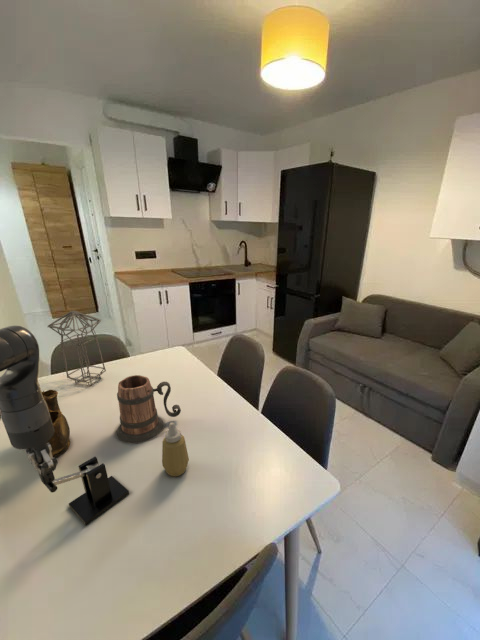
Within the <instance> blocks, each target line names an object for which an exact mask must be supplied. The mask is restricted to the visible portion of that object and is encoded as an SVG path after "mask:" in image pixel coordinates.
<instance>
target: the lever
mask: <svg viewBox="0 0 480 640" xmlns="http://www.w3.org/2000/svg"><path fill="white" fill-rule="evenodd" d="M99 465H100V464H99V462H98V463H95V464H91V465H88V466H86V470H84V471H77V472H74V473H71V474H68V475H64V476H60V477H58V478H55V480H54V481H52V482H50V483H49V484H47V485H44V486H45V487H46V488H47V490H48V491H49V492H50V493H55V492H57V491H58V485H61V484H65V483H68V482H70V481H73V480H77V479H79V478H81V477H83V476H86V473H87V472H89V471H91V470H92V469H94V468H96V467H97V466H99Z"/></svg>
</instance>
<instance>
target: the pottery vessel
mask: <svg viewBox="0 0 480 640" xmlns="http://www.w3.org/2000/svg"><path fill="white" fill-rule="evenodd" d="M41 392H42V395H43V398H44V400H45V402H46V404H47V407H48V410H49V413H50V417H51V420H52V423H53V427H54V434H53V436H52V437H51V438H50V439H49V440H48V442H47V443H50V445H51V448H52V450H51V453H52V456H53V458H56V457H58V456H60V455H63V454H64V453H66V452H67V450H69V448H70V447H71V439H70V437H71V433H70V432H71V429H70V425H69V422H68V420H67V417H66V416H65V415H64V414H63V412H62V411H61V408H60V406H59V405H60V404H59V401H58V394H59V392H58V390H56V389H48V390H45V391H44V390H43V391H41Z"/></svg>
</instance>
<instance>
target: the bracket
mask: <svg viewBox="0 0 480 640" xmlns="http://www.w3.org/2000/svg"><path fill="white" fill-rule="evenodd" d="M95 463H98V464H99V461H98V457H96V456H93V457H91V458H90V459H88V460H86V461H84V462H83V463H81V464H79V465H78V466H77V467H78V472H80V471H84V470H86V466H88V465H91V464H95ZM80 478H81V482H82V485H83V489H84V493H82V494H81V495H79V496H78V497H76V498H75V499H73V500H72V501H70V502H69V503H68V507H69V508H70V509H71V510H72V511H73V513H74V514H75V515H76V516H77V517H78V519H80V520H81V522H82V523H83V524H84V525H85V526H87V525H89V524H90V523H92V522H93V521H95V520H96V519H97V518H98V517H100V516H101V515H102V514H104V513H105V512H107V511H108V510H109V509H111V508H112V507H113V506H115V505H116V504H118V503H119V502H120V501H122V500H123V499H124V498H126V497H127V496H128V495H130V491H129V489H127V488H126V487H125V486H124V485H123V484H122V483H121V482H120V481H118V480H117V479H116V478H115V477H114V476H112V475H111V476H109V477H108V471H107V467H106V464H105V463H103V462H102V463H101V464H99V466H97V467H96V468H94V469H92V470H91V471H89V472H87V473H86V476H83V477H80Z"/></svg>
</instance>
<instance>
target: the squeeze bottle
mask: <svg viewBox="0 0 480 640" xmlns="http://www.w3.org/2000/svg"><path fill="white" fill-rule="evenodd" d="M161 443H162V444H161V445H162V449H161V452H162V453H161V464H162V465H161V466H162V467H163V469H164V470H165V472H166V473H167V474H168V476H171V477H179V476H181V475H183V474H184V473H185V472H186V469H187V467H188V464H189V461H190V459H189V457H190V456H189V453H188V448H187V443H186V438H185V436H184V435H183V434H182V430H180V429H179V428H177V427H176V424H175V422H174V421H172V422H171V421H170V422H169V426H168V429H167V431H166V432H165V433H164V438H163V439H162V442H161Z"/></svg>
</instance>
